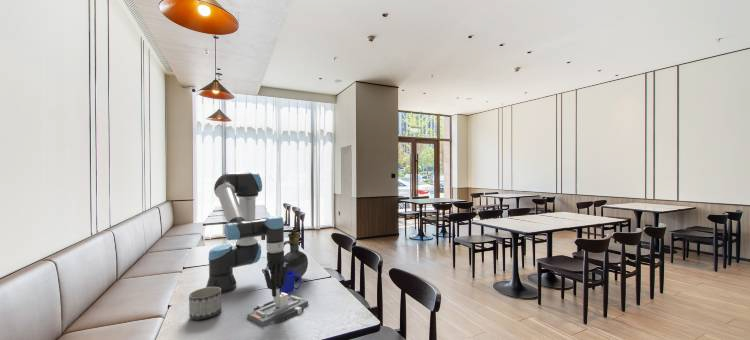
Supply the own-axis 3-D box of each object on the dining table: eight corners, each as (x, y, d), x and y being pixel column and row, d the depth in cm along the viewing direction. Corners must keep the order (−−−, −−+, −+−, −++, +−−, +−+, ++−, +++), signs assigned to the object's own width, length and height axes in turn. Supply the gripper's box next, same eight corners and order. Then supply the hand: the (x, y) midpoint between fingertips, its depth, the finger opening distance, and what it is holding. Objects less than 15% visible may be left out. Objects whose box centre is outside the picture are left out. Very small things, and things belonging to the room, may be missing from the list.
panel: (247, 318, 132) (247, 311, 132) (292, 298, 151) (292, 292, 151) (262, 326, 125) (262, 318, 125) (308, 304, 144) (308, 298, 144)
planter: (199, 324, 128) (198, 300, 128) (183, 317, 134) (183, 294, 134) (227, 312, 138) (226, 289, 138) (211, 306, 145) (211, 284, 145)
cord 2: (274, 322, 128) (274, 317, 128) (300, 309, 139) (300, 305, 139) (278, 324, 126) (277, 319, 126) (304, 311, 137) (304, 306, 137)
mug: (297, 295, 155) (297, 276, 155) (276, 294, 157) (275, 275, 157) (304, 289, 163) (304, 271, 163) (284, 288, 165) (283, 270, 165)
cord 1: (252, 311, 138) (252, 307, 138) (278, 301, 149) (278, 296, 149) (255, 313, 136) (255, 308, 136) (281, 302, 147) (281, 297, 147)
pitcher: (310, 276, 182) (309, 227, 183) (290, 288, 165) (288, 233, 165) (296, 274, 187) (294, 226, 187) (274, 285, 169) (273, 232, 169)
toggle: (275, 305, 139) (275, 294, 139) (283, 302, 142) (282, 291, 142) (280, 308, 136) (280, 296, 136) (288, 304, 140) (287, 293, 140)
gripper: (267, 255, 130) (268, 310, 130) (292, 248, 140) (293, 299, 140) (257, 252, 134) (259, 305, 134) (282, 246, 144) (283, 295, 144)
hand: (276, 302), depth 137 cm, fingers closed
